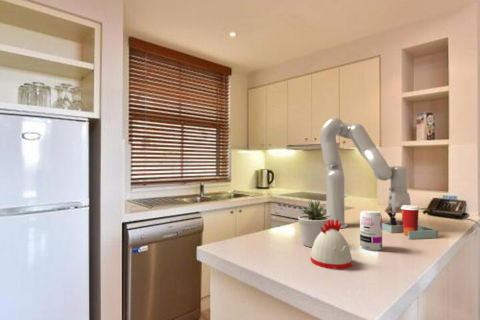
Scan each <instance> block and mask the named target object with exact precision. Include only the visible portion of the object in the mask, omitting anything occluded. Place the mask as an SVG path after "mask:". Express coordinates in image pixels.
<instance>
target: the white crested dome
mask: <svg viewBox="0 0 480 320" xmlns="http://www.w3.org/2000/svg"><path fill="white" fill-rule="evenodd" d="M341 224H342V223H339V225H338V220H336V221H335V225H334V220H331V223H330V220H328V222H327V225H326V223H324V227H325V229H323V228H322V227H321V226H320V228H321V230H322V232H321V233H320V234H319V235H318V236H317V238H316V239H315V241H314V244H313V247H311V252H310V261H311V263H312V264H313V265H315V266H318V267H320V268H324V269H330V270H344V269H349V268H351V267H352V265H353V256H352V253H351V250H350V247H349V244H348V242H347V240H346V238H345V237H344V235H342V233H341V232H340V230H341V228H340V227H341Z"/></svg>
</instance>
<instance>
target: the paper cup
mask: <svg viewBox="0 0 480 320" xmlns="http://www.w3.org/2000/svg"><path fill="white" fill-rule="evenodd" d="M401 209H402V213H401V215H402V217H401V220H402V219H403V230H404V232H403V235H404V236H406V237H408V231H418V225H419V211H420V208H419V206H417V205H412V204H411V205H402V208H401Z"/></svg>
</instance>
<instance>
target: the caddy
mask: <svg viewBox="0 0 480 320" xmlns="http://www.w3.org/2000/svg"><path fill="white" fill-rule="evenodd" d="M382 231H384V232H387V233H391V234H398V233H399V234H400V233H404V230H403V225H396V226H391V224H390V221H389V222H382ZM438 236H439V235H438V229H434V228H430V227H427V226H423V225H420V224H418V231H408V236H407V239H408V240H419V239H420V240H422V239H437V238H438Z"/></svg>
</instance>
